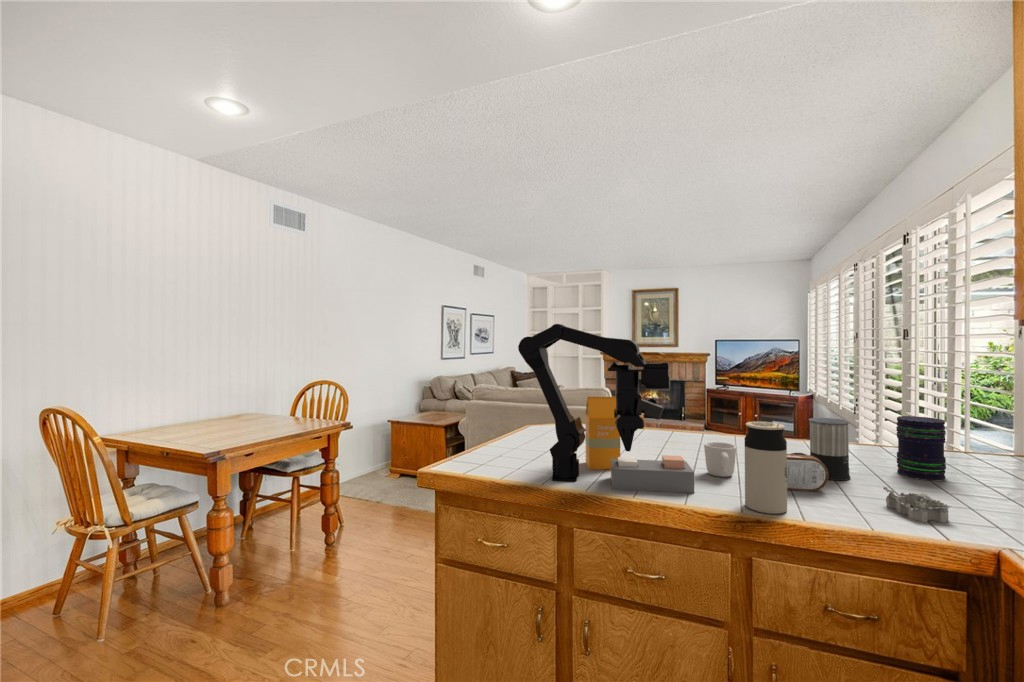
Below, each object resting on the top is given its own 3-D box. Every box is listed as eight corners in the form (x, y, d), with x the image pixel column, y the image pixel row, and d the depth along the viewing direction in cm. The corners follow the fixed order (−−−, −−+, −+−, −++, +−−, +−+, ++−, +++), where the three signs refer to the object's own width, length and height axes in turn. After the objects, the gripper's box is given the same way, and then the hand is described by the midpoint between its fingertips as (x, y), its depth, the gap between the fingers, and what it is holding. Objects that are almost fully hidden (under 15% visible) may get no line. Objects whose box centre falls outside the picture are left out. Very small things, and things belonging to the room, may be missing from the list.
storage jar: (904, 478, 122) (904, 420, 122) (890, 468, 131) (890, 415, 131) (953, 482, 118) (953, 423, 118) (936, 472, 127) (935, 417, 127)
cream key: (618, 477, 117) (618, 461, 117) (617, 472, 121) (617, 456, 121) (637, 478, 116) (637, 462, 116) (636, 473, 120) (636, 457, 120)
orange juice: (620, 469, 132) (620, 398, 132) (589, 469, 132) (588, 398, 132) (615, 462, 140) (614, 395, 140) (585, 462, 140) (584, 395, 140)
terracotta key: (664, 476, 115) (664, 459, 115) (662, 471, 119) (662, 455, 119) (684, 477, 114) (684, 460, 114) (681, 471, 118) (681, 455, 118)
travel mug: (740, 509, 100) (740, 424, 100) (750, 499, 106) (749, 420, 106) (783, 518, 95) (782, 429, 95) (790, 507, 101) (789, 423, 101)
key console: (612, 489, 114) (611, 468, 114) (610, 477, 124) (610, 458, 124) (694, 493, 111) (694, 472, 111) (686, 480, 121) (686, 461, 121)
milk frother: (852, 483, 118) (851, 424, 118) (779, 474, 126) (779, 419, 126) (847, 470, 130) (847, 416, 130) (782, 462, 138) (781, 412, 139)
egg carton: (880, 504, 104) (880, 485, 104) (919, 506, 102) (919, 487, 102) (912, 522, 93) (912, 501, 93) (956, 525, 92) (955, 503, 92)
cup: (743, 483, 119) (743, 451, 119) (709, 481, 120) (709, 450, 120) (732, 471, 129) (732, 442, 129) (701, 470, 131) (701, 441, 131)
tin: (825, 489, 113) (824, 454, 113) (830, 493, 110) (830, 457, 110) (756, 485, 117) (756, 451, 117) (760, 489, 114) (760, 454, 114)
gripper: (666, 393, 108) (666, 461, 108) (655, 386, 126) (656, 444, 126) (616, 393, 110) (617, 459, 110) (613, 385, 128) (614, 442, 128)
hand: (628, 451), depth 118 cm, fingers closed
